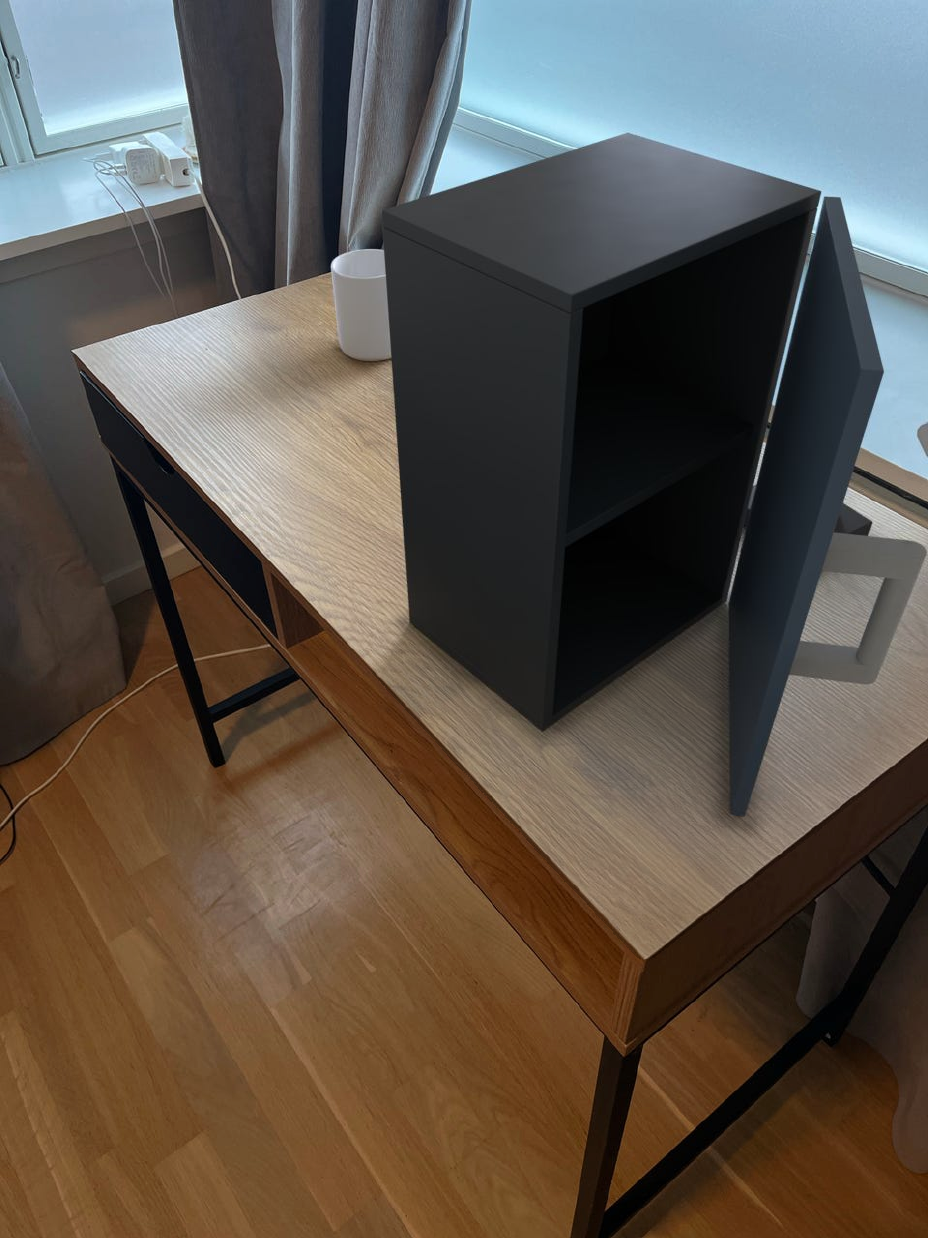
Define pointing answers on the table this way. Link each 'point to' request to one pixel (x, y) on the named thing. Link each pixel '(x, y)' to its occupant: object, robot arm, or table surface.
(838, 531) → the button box
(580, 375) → the cupboard
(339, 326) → the mug
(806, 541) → the door
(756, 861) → the table surface
